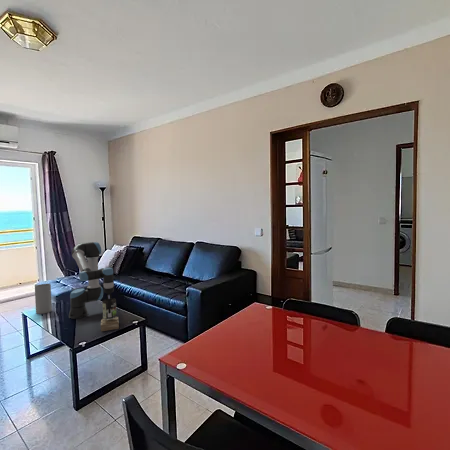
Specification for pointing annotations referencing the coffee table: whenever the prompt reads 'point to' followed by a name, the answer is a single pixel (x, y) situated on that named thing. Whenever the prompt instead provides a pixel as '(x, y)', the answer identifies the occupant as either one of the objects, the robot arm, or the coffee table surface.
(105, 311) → the coffee can
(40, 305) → the cylinder vase
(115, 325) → the beech block
